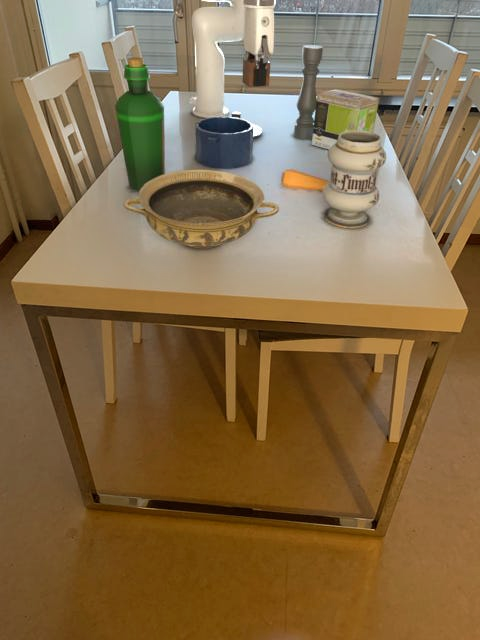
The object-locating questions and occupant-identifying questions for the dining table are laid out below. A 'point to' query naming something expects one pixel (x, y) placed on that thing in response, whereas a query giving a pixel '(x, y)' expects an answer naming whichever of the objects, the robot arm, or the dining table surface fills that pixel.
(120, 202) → the dining table surface
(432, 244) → the dining table surface
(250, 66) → the block
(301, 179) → the carrot
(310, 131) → the candle holder
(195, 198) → the ceramic bowl
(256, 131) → the lid
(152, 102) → the bottle
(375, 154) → the apothecary jar
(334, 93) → the tea box
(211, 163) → the pot
